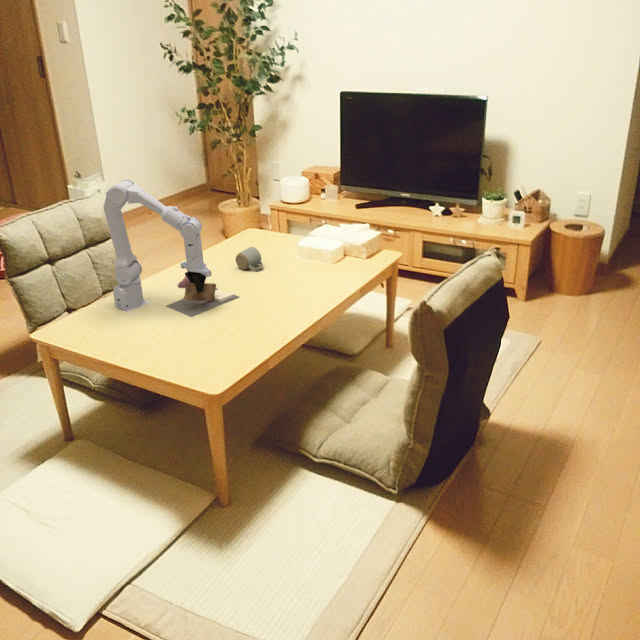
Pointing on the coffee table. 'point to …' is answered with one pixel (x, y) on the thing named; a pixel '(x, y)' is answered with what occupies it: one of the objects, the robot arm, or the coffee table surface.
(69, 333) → the coffee table surface
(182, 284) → the pink irregular lump
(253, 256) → the ceramic mug
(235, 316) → the coffee table surface
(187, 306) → the mat
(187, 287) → the brown wooden block
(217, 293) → the tile
